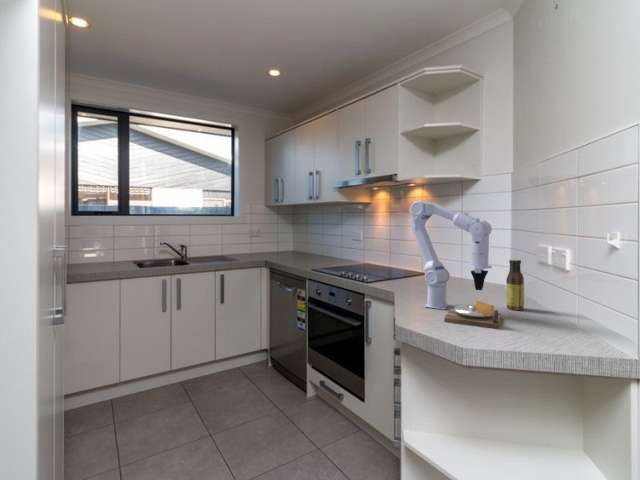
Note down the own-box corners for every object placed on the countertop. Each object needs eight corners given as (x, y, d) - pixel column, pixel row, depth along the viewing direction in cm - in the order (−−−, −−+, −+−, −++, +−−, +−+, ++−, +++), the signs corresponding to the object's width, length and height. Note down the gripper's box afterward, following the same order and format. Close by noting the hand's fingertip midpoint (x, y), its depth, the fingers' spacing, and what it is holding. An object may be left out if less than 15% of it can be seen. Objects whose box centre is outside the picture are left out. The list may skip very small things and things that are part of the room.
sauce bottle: (517, 307, 144) (519, 258, 143) (527, 310, 138) (529, 260, 137) (502, 307, 144) (503, 258, 143) (511, 310, 137) (512, 260, 136)
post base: (451, 311, 136) (451, 297, 136) (500, 317, 128) (501, 302, 128) (444, 321, 122) (444, 306, 122) (499, 329, 114) (499, 312, 114)
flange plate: (488, 308, 130) (488, 297, 130) (498, 318, 117) (499, 306, 117) (451, 306, 133) (451, 295, 132) (457, 316, 120) (457, 304, 119)
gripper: (490, 255, 122) (489, 294, 123) (492, 252, 135) (491, 287, 136) (469, 254, 125) (467, 292, 126) (473, 251, 138) (472, 286, 139)
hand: (478, 289), depth 131 cm, fingers closed
